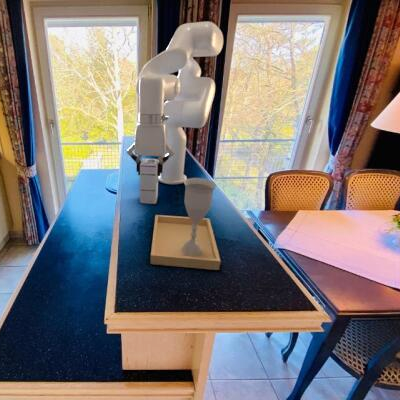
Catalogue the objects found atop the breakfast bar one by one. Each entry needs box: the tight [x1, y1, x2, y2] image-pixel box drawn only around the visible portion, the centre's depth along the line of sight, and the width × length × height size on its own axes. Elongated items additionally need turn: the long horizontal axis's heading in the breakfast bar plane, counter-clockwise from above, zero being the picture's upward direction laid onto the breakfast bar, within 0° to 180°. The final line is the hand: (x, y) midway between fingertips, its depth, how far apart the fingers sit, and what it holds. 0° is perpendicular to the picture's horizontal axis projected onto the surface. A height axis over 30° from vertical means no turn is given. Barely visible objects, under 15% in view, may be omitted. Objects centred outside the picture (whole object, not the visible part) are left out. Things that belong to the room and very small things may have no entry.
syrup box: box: [139, 158, 159, 205], centre depth 91 cm, size 6×6×14 cm
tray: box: [150, 214, 221, 271], centre depth 69 cm, size 20×16×3 cm
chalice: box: [182, 177, 217, 257], centre depth 62 cm, size 7×7×18 cm
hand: (149, 173), depth 89 cm, fingers closed on syrup box, 5 cm apart
